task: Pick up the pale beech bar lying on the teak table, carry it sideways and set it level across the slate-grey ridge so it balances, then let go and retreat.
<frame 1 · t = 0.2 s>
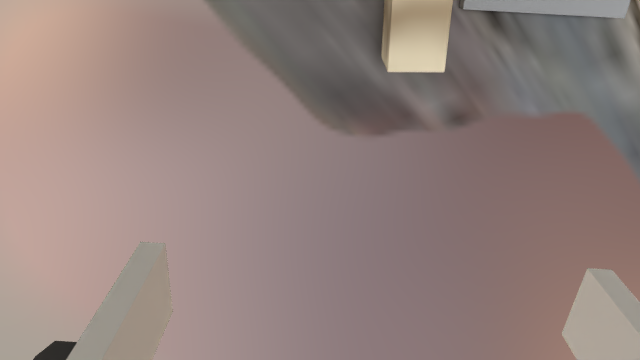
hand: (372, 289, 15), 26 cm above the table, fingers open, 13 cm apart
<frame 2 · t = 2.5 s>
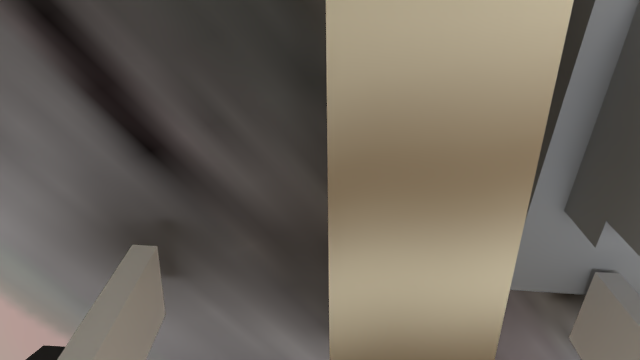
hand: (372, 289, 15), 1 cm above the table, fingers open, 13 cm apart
bar: (398, 80, 13), on the table
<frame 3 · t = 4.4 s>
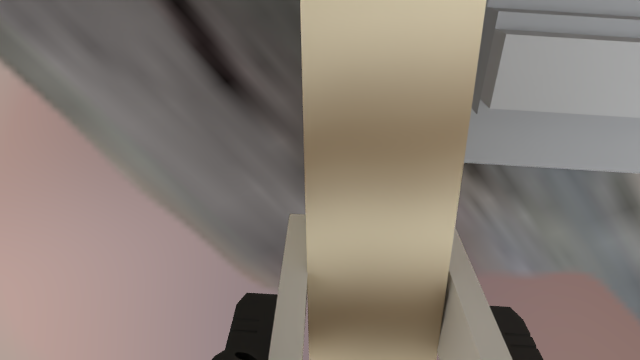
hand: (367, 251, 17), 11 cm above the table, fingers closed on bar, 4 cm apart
bar: (370, 75, 16), point 9 cm above the table, touching gripper
fulcrum: (556, 52, 24), on the table
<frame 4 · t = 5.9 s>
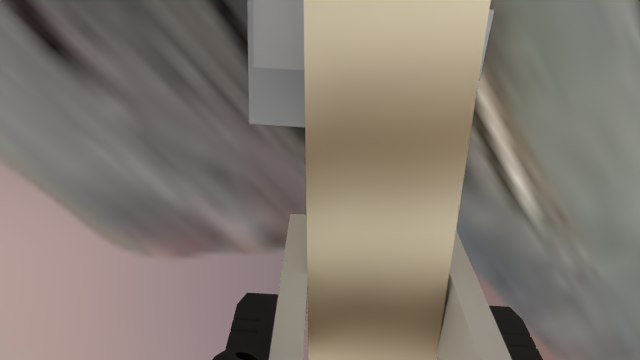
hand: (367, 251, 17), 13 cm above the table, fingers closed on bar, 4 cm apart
bar: (372, 76, 16), point 11 cm above the table, touching gripper
fulcrum: (361, 18, 25), on the table
when the fingers open (5 cm above the table, at t = 7.4 s): bar stays where it is, resting on fulcrum.
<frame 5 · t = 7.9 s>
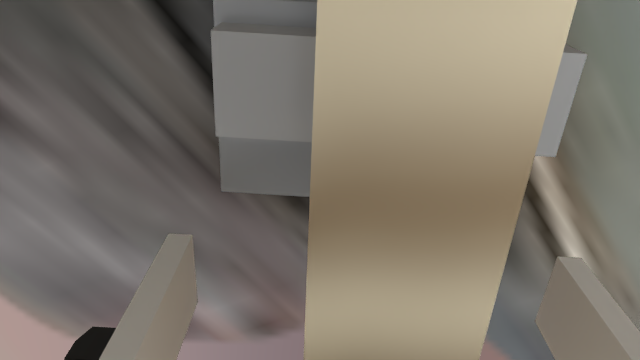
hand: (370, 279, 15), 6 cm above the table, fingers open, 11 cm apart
bar: (388, 104, 13), point 6 cm above the table, touching fulcrum
fulcrum: (374, 51, 18), on the table
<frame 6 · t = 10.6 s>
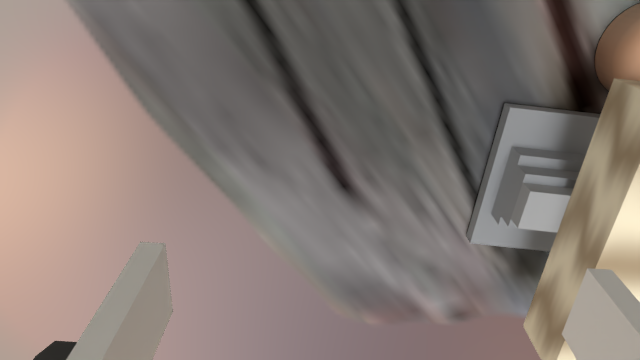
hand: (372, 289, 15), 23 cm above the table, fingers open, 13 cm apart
bar: (590, 220, 34), point 6 cm above the table, touching fulcrum
fulcrum: (555, 181, 39), on the table
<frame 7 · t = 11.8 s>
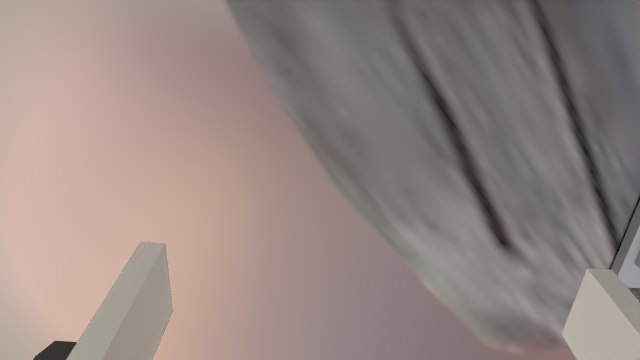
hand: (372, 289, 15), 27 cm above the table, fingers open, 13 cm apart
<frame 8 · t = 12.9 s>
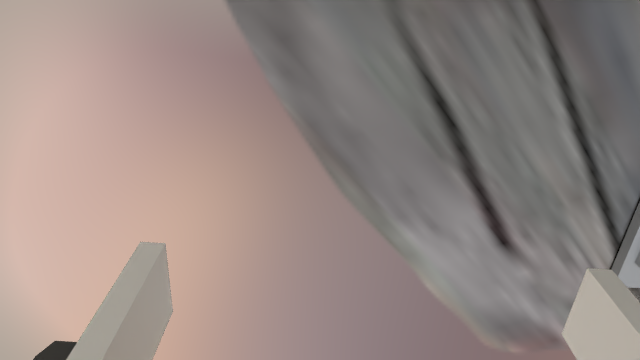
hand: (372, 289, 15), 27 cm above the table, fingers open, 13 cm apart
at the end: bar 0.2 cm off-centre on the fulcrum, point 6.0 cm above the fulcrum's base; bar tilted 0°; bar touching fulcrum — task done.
